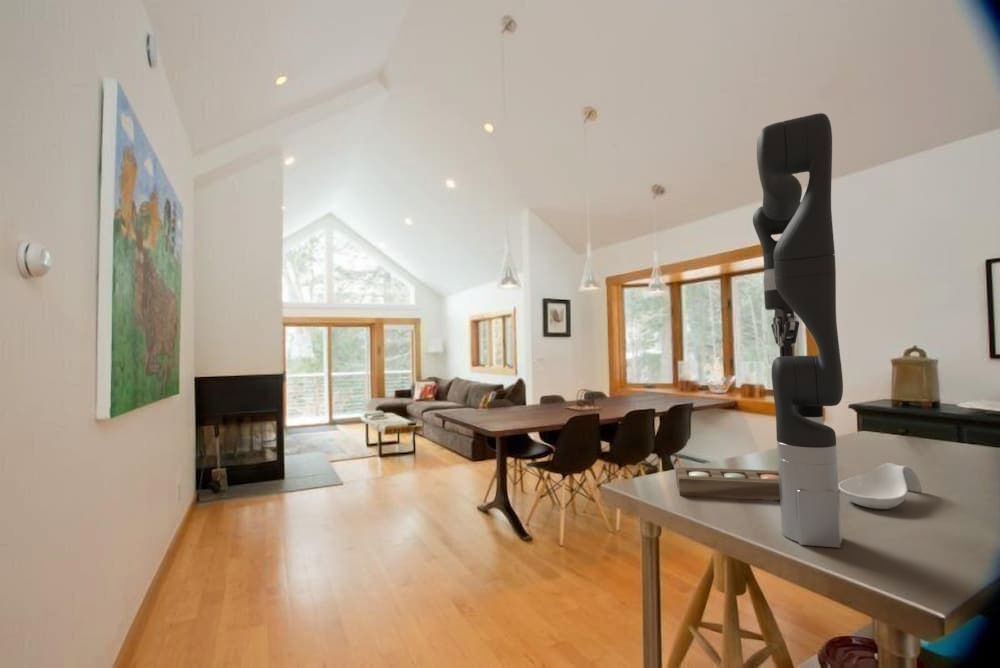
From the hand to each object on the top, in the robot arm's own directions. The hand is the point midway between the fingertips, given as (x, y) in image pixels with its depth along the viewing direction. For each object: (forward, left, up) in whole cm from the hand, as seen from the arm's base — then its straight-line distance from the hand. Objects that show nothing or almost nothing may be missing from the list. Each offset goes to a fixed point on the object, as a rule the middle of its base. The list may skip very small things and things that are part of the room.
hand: (786, 362), depth 108 cm
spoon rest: (+2, -18, -32) cm, 36 cm away
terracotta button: (+2, +4, -30) cm, 30 cm away
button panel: (+2, +12, -31) cm, 33 cm away
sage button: (+2, +12, -30) cm, 32 cm away
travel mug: (+14, -8, -31) cm, 35 cm away
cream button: (+2, +20, -30) cm, 36 cm away
